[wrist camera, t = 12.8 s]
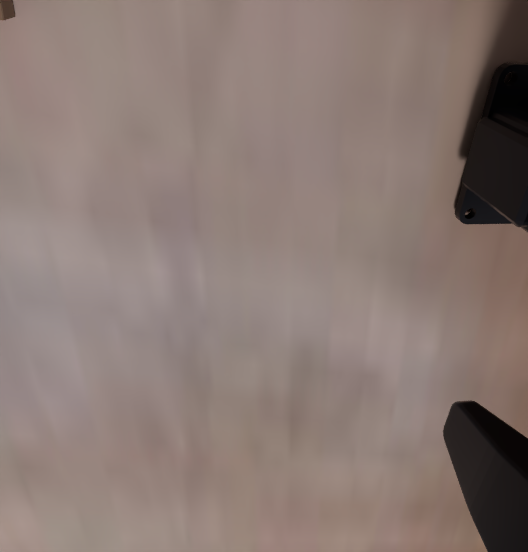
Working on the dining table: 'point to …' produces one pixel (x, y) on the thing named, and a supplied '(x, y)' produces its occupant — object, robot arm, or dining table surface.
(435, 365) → the dining table surface
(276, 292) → the dining table surface
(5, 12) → the shaft base
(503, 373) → the dining table surface
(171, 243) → the dining table surface
